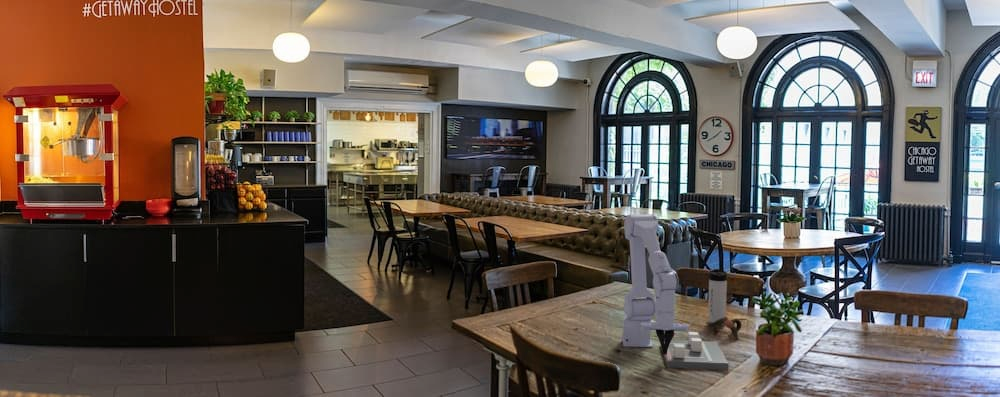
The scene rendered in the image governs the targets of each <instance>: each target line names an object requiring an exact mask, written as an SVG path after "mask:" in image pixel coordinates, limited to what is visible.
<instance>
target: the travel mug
mask: <svg viewBox="0 0 1000 397" xmlns="http://www.w3.org/2000/svg"><path fill="white" fill-rule="evenodd" d="M727 274H728V273H727V271H725V270H722V269H721V270H720V269H719V268H714V269H711V270H709V277H708V278H709V279H708V308H707V309H708V310H707V312H708V313H707V315H708V319H707V323H708V325H709V324H710V323H712V322H715V321H716V320H719V319H721V318H723V317H727V291H728V290H727V285H728V279H727V278H728V277H727V276H728V275H727ZM723 326H725V324H724V323H723V324H722V327H723Z"/></svg>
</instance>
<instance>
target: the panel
mask: <svg viewBox="0 0 1000 397" xmlns="http://www.w3.org/2000/svg"><path fill="white" fill-rule="evenodd" d="M664 344H665V341H664ZM674 344H684V346H685V358H675V357H674ZM663 357H664V361H665V365H666V367H667V368H677V369H679V368H680V369H696V370H697V369H699V370H701V369H702V370H724V371H726V370H727V371H728V370H729V362H728V360H727V359H726V357H725V355H724V353H723V350H722V348H720V346H719V343H718V342H717V341H714V340H713V341H708V340H702V352H696V351H692V350H691V345H689V343H688V340H683V339H682V340H681V339H680V340H679V339H672V340H671V342H670V344H669V347H668V351H667V355H665V354H663Z"/></svg>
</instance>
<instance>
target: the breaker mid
mask: <svg viewBox="0 0 1000 397" xmlns="http://www.w3.org/2000/svg"><path fill="white" fill-rule="evenodd" d="M702 341H703V340H702V339H701V338H700V337H699V338H691V350H692V351H696V352H702Z"/></svg>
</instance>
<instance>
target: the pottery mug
mask: <svg viewBox="0 0 1000 397" xmlns="http://www.w3.org/2000/svg"><path fill="white" fill-rule="evenodd" d="M723 323H724V324H725V325H724V326H725V327H727V328H728V329H729V330H730V332H731V333H729V335H728V334H727V338H728V340H729V342H733V341H735V340H738V339H739V336H738V335H739V334H738V332H739V331H740V330H741V329H742V322H741V320H740V319H738V318H734V319H729V318H728V317H727V316H726V317H723V318H721V319H719V320H716V321H715V322H712V323H710V324H709V323H708V324H707V326H708V332H712V333H713V334H715V335H717V334H718V333H719V330H723V326H722V324H723Z"/></svg>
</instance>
